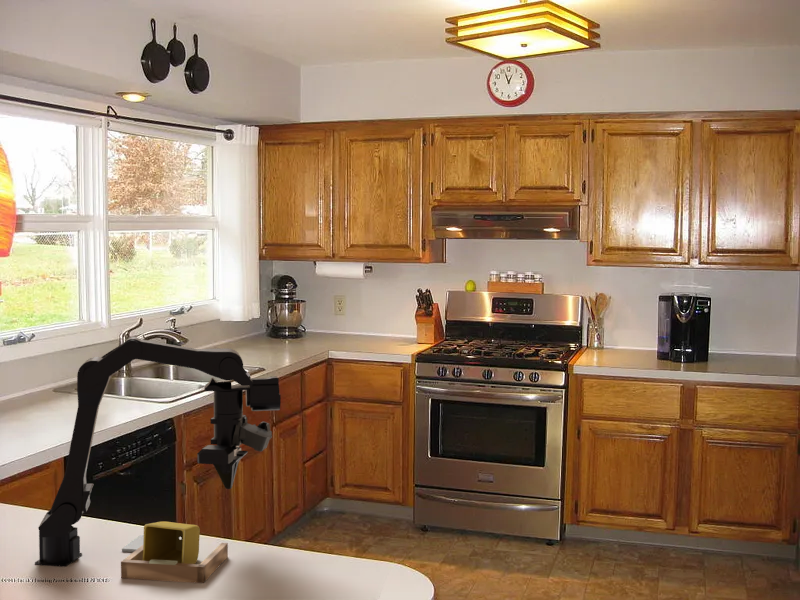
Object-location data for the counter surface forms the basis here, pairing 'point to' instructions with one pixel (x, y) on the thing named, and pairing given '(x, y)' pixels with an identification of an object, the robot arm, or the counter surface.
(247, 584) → the counter surface
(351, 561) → the counter surface
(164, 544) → the flower pot
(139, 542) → the tile
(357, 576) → the counter surface
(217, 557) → the wooden tray frame
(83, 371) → the robot arm
